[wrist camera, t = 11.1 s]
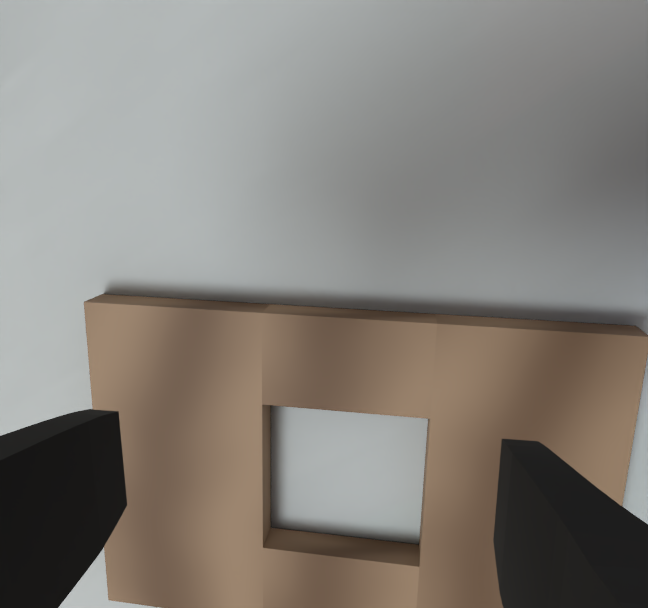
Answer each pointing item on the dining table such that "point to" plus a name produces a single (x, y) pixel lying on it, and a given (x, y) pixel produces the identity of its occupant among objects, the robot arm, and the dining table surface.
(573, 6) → the dining table surface
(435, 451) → the walnut pocket board
